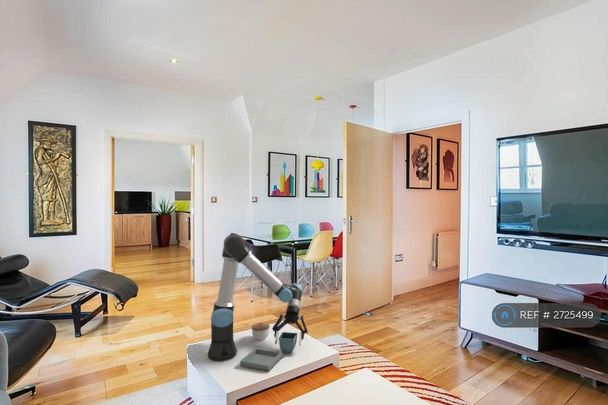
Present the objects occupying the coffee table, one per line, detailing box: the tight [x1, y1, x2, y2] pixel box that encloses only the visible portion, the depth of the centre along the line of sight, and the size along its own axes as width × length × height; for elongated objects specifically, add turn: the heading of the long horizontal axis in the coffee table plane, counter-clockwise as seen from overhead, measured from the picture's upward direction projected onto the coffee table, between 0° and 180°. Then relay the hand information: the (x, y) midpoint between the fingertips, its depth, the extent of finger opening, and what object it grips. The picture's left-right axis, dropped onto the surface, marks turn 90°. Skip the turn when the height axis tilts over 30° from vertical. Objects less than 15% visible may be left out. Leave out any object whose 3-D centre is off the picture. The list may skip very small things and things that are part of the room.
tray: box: [239, 347, 283, 373], centre depth 170 cm, size 16×16×3 cm
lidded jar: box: [251, 322, 270, 341], centre depth 201 cm, size 11×11×9 cm
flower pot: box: [278, 331, 298, 355], centre depth 182 cm, size 9×9×9 cm
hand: (287, 344), depth 180 cm, fingers open, 13 cm apart
